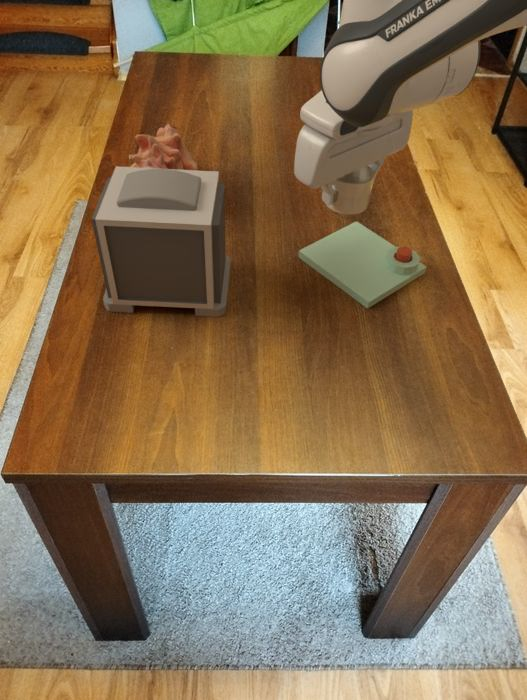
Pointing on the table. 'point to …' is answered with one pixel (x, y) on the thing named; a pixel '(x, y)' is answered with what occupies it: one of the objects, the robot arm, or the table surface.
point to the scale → (361, 263)
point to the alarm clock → (163, 240)
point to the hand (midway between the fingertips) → (347, 192)
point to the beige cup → (353, 191)
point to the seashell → (163, 151)
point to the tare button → (403, 254)
